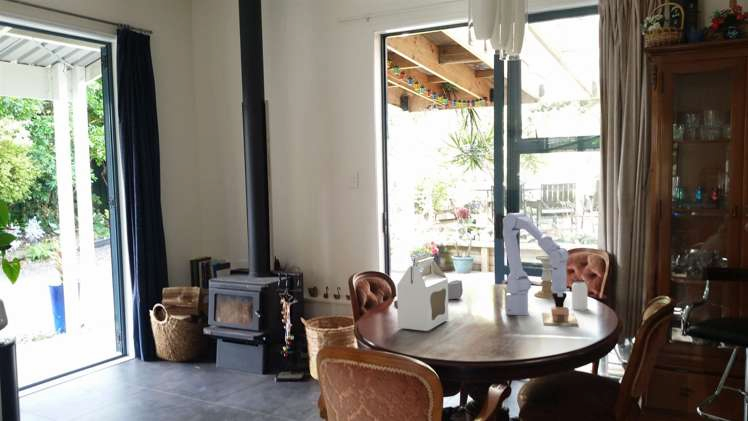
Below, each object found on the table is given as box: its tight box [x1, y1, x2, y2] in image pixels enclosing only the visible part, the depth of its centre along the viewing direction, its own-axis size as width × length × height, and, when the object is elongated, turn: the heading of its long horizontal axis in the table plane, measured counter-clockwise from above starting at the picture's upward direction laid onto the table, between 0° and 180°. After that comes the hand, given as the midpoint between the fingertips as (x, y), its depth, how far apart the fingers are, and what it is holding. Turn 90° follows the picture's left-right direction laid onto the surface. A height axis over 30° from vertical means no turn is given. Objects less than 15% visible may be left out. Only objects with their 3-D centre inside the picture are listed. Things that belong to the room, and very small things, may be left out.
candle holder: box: [533, 255, 555, 299], centre depth 277 cm, size 12×12×20 cm
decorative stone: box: [448, 279, 464, 300], centre depth 278 cm, size 15×7×10 cm
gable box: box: [396, 253, 450, 332], centre depth 230 cm, size 22×13×28 cm, turn 151°
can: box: [571, 281, 589, 311], centre depth 249 cm, size 6×6×12 cm
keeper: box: [550, 306, 570, 322], centre depth 225 cm, size 6×5×5 cm
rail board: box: [541, 312, 579, 327], centre depth 229 cm, size 13×18×4 cm
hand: (559, 311), depth 229 cm, fingers closed
